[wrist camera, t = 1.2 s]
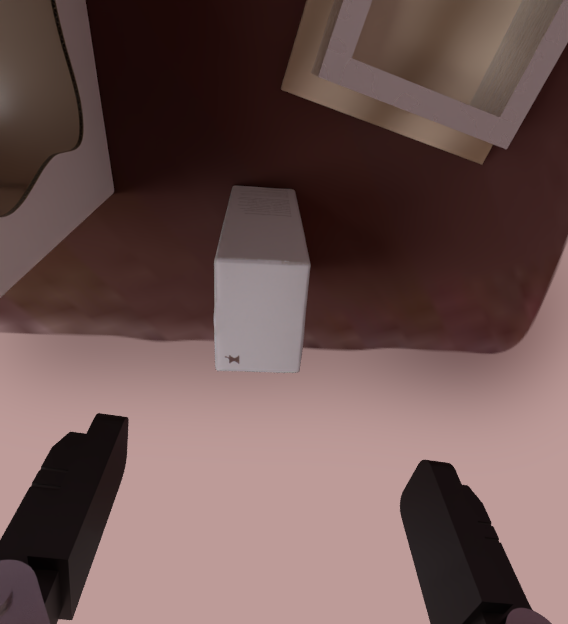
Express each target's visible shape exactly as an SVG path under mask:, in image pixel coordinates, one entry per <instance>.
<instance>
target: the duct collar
mask: <svg viewBox="0 0 568 624" xmlns="http://www.w3.org/2000/svg"><path fill="white" fill-rule="evenodd" d="M371 3H372V0H334V3H333V6H332V9H331V12H330V15H329V19H328V22H327V25H326V28H325V31H324V34H323V37H322V40H321V43H320V47H319V50H318V53H317V56H316V59H315V62H314V65H313V68H312V72H311V73H312V74H314V75H316V76H317V77H320V78H322V79H325V80H328V81H330V82H333V83H335V84H338V85H340V86H343V87H346V88H348V89H351V90H353V91H356V92H359V93H361V94H364V95H366V96H369V97H372V98H374V99H377V100H379V101H382V102H385V103H387V104H390V105H392V106H395V107H398V108H400V109H403V110H405V111H408V112H411V113H413V114H416V115H418V116H421V117H424V118H426V119H429V120H431V121H434V122H436V123H439V124H442V125H444V126H447V127H449V128H452V129H455V130H457V131H460V132H462V133H465V134H468V135H470V136H473V137H475V138H478V139H481V140H483V141H486V142H488V143H491V144H494V145H496V146H499V147H501V148H504V149H507V148H508V146H509V145H510V143H511V141H512V139H513V138H514V136H515V134H516V132H517V131H518V129H519V127H520V125H521V124H522V122H523V120H524V118H525V116H526V115H527V113H528V111H529V109H530V108H531V106H532V104H533V102H534V101H535V99H536V97H537V95H538V94H539V92H540V90H541V88H542V87H543V85H544V83H545V81H546V80H547V78H548V76H549V74H550V73H551V71H552V69H553V67H554V66H555V64H556V62H557V60H558V59H559V57H560V55H561V53H562V52H563V50H564V48H565V46H566V45H567V43H568V0H522V2H521V4H520V6H519V8H518V10H517V12H516V14H515V16H514V18H513V20H512V22H511V24H510V26H509V28H508V30H507V32H506V34H505V36H504V38H503V40H502V42H501V44H500V46H499V48H498V50H497V52H496V54H495V56H494V58H493V60H492V62H491V63H490V65H489V67H488V69H487V71H486V73H485V75H484V77H483V79H482V81H481V83H480V85H479V87H478V89H477V91H476V93H475V95H474V97H473V99H472V101H471V103H470V105H467V104H465V103H462V102H460V101H457V100H455V99H452V98H450V97H448V96H445V95H443V94H440V93H438V92H435V91H433V90H430V89H428V88H425V87H423V86H420V85H418V84H415V83H413V82H410V81H408V80H405V79H403V78H400V77H398V76H395V75H393V74H390V73H388V72H385V71H383V70H380V69H378V68H375V67H373V66H370V65H368V64H365V63H363V62H360V61H358V60H355V59H353V58H352V56H353V53H354V50H355V47H356V45H357V42H358V39H359V36H360V33H361V31H362V28H363V25H364V22H365V19H366V17H367V14H368V11H369V8H370V5H371Z"/></svg>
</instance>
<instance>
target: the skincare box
mask: <svg viewBox="0 0 568 624" xmlns="http://www.w3.org/2000/svg"><path fill="white" fill-rule="evenodd" d="M310 266H311V264H310V260H309V255H308V250H307V246H306V241H305V236H304V231H303V226H302V221H301V217H300V212H299V207H298V203H297V198H296V194H295V190H293V189H278V188H264V187H251V186H233V187H232V190H231V194H230V199H229V203H228V207H227V211H226V215H225V219H224V223H223V227H222V231H221V235H220V239H219V244H218V248H217V252H216V256H215V260H214V301H215V307H214V340H215V368H216V370H217V371H247V372H248V371H249V372H276V373H280V372H281V373H294V372H295V373H296V372H299V370H300V363H301V356H302V349H303V341H304V328H305V316H306V305H307V295H308V285H309V275H310Z"/></svg>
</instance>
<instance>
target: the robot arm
mask: <svg viewBox="0 0 568 624" xmlns="http://www.w3.org/2000/svg"><path fill="white" fill-rule="evenodd" d="M127 439H128V418H127V417H122V416H115V415H108V414H100V413H98V414H97V415H96V416H95V418H94V420H93V422H92V424H91V426H90V428H89V430H88V432H87V434H84V433H76V432H69V433H68V434H67V435H66V436H65V437H63V438H62V439H61V440H60V441H59V442H58V443H56V444H55V445H54V446H53V447H52V448H51V450H50V452H49V454H48V456H47V457H46V459H45V461H44V463H43V465H42V466H41V470H40V471H39V472H38V473H37V475H36V477H35V479H34V481H33V482H32V486H31V487H30V488H29V490H28V491H27V493H26V495H25V497H24V499H23V500H22V502H21V504H20V506H19V508H18V509H17V511H16V513H15V515H14V516H13V518H12V520H11V522H10V524H9V525H8V527H7V529H6V531H5V533H4V535H3V536H2V538H1V540H0V624H57V621H58V619H66V620H72V619H73V616H74V613H75V610H76V607H77V605H78V602H79V599H80V596H81V593H82V590H83V588H84V585H85V582H86V579H87V577H88V574H89V571H90V568H91V565H92V562H93V560H94V557H95V554H96V551H97V548H98V545H99V543H100V540H101V537H102V534H103V531H104V528H105V526H106V523H107V520H108V517H109V514H110V511H111V509H112V506H113V503H114V500H115V497H116V494H117V492H118V489H119V486H120V483H121V480H122V477H123V473H124V469H125V464H126V458H127ZM400 512H401V517H402V521H403V525H404V528H405V532H406V535H407V539H408V543H409V547H410V550H411V554H412V557H413V561H414V565H415V568H416V572H417V576H418V579H419V583H420V587H421V590H422V594H423V598H424V601H425V605H426V609H427V612H428V616H429V619H430V623H431V624H551V623H550V622H549V621H548V620H547V619H546V618H545V617H543V616H542V615H540V614H538V613H537V612H535V611H533V610H532V608H531V607H530V605H529V603H528V601H527V599H526V596H525V594H524V592H523V590H522V588H521V585H520V583H519V581H518V579H517V577H516V575H515V573H514V571H513V568H512V566H511V564H510V562H509V560H508V557H507V556H506V553H505V551H504V549H503V547H502V544H501V543H499V541H498V540H499V538H498V536H497V534H496V531H495V529H494V527H493V526H491V521H490V518H489V517H488V514H487V512H486V510H485V508H484V506H483V503H482V502H481V501H480V500H479V498H478V497H477V496H476V495H475V494H474V492H473V491H472V490H471V489H470V488H469V486H467V485H462V484H461V482H460V480H459V477H458V475H457V473H456V470H455V468H454V467H453V466H452V465H451V464H450V463H445V462H438V461H430V460H422V461H421V462H420V463H419V464H418V466H417V468H416V470H415V471H414V473H413V475H412V477H411V479H410V480H409V482H408V484H407V485H406V487H405V489H404V491H403V493H402V496H401V500H400Z"/></svg>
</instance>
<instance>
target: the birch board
mask: <svg viewBox="0 0 568 624" xmlns="http://www.w3.org/2000/svg"><path fill="white" fill-rule="evenodd" d="M521 2H522V0H372V3H371V5H370V8H369V11H368V14H367V17H366V19H365V22H364V25H363V28H362V31H361V33H360V36H359V39H358V42H357V45H356V47H355V50H354V53H353V56H352V58H353V59H355V60H358V61H360V62H363V63H365V64H368V65H370V66H373V67H375V68H378V69H380V70H383V71H385V72H388V73H390V74H393V75H395V76H398V77H400V78H403V79H405V80H408V81H410V82H413V83H415V84H418V85H420V86H423V87H425V88H428V89H430V90H433V91H435V92H438V93H440V94H443V95H445V96H448V97H450V98H452V99H455V100H457V101H460V102H462V103H465V104H467V105H470V103H471V101H472V99H473V97H474V95H475V93H476V91H477V89H478V87H479V85H480V83H481V81H482V79H483V77H484V75H485V73H486V71H487V69H488V67H489V65H490V63H491V62H492V60H493V58H494V56H495V54H496V52H497V50H498V48H499V46H500V44H501V42H502V40H503V38H504V36H505V34H506V32H507V30H508V28H509V26H510V24H511V22H512V20H513V18H514V16H515V14H516V12H517V10H518V8H519V6H520V4H521ZM333 3H334V0H306V3H305V7H304V10H303V14H302V17H301V21H300V24H299V27H298V31H297V34H296V38H295V41H294V44H293V48H292V51H291V55H290V58H289V61H288V65H287V68H286V72H285V75H284V78H283V82H282V85H281V90H283V91H286V92H289V93H291V94H294V95H297V96H299V97H302V98H305V99H307V100H310V101H313V102H315V103H318V104H321V105H324V106H326V107H329V108H332V109H334V110H337V111H340V112H342V113H345V114H348V115H350V116H353V117H356V118H358V119H361V120H364V121H366V122H369V123H372V124H374V125H377V126H380V127H382V128H385V129H388V130H391V131H393V132H396V133H399V134H401V135H404V136H407V137H409V138H412V139H415V140H417V141H420V142H423V143H425V144H428V145H431V146H433V147H436V148H439V149H441V150H444V151H447V152H450V153H452V154H455V155H458V156H460V157H463V158H466V159H468V160H471V161H474V162H476V163H479V164H483V162H484V160H485V158H486V157H487V155H488V153H489V151H490V149H491V147H492V146H493V144H491V143H488V142H486V141H483V140H481V139H478V138H475V137H473V136H470V135H468V134H465V133H462V132H460V131H457V130H455V129H452V128H449V127H447V126H444V125H442V124H439V123H436V122H434V121H431V120H429V119H426V118H424V117H421V116H418V115H416V114H413V113H411V112H408V111H405V110H403V109H400V108H398V107H395V106H392V105H390V104H387V103H385V102H382V101H379V100H377V99H374V98H372V97H369V96H366V95H364V94H361V93H359V92H356V91H353V90H351V89H348V88H346V87H343V86H340V85H338V84H335V83H333V82H330V81H328V80H325V79H322V78H320V77H317V76H316V75H314V74H312V73H311V72H312V68H313V65H314V62H315V59H316V56H317V53H318V50H319V47H320V43H321V40H322V37H323V34H324V31H325V28H326V25H327V22H328V19H329V15H330V12H331V9H332V6H333Z"/></svg>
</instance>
